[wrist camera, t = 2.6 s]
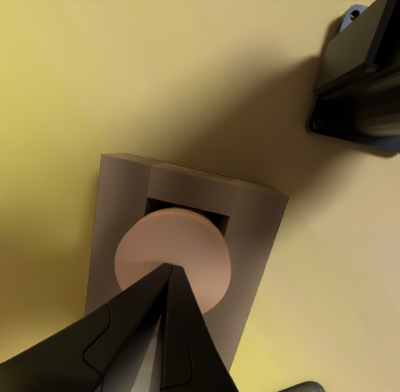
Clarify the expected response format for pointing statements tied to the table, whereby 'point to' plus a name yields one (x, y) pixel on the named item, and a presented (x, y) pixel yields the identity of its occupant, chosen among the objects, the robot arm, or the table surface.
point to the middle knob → (145, 369)
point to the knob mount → (196, 198)
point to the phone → (305, 387)
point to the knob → (177, 252)
